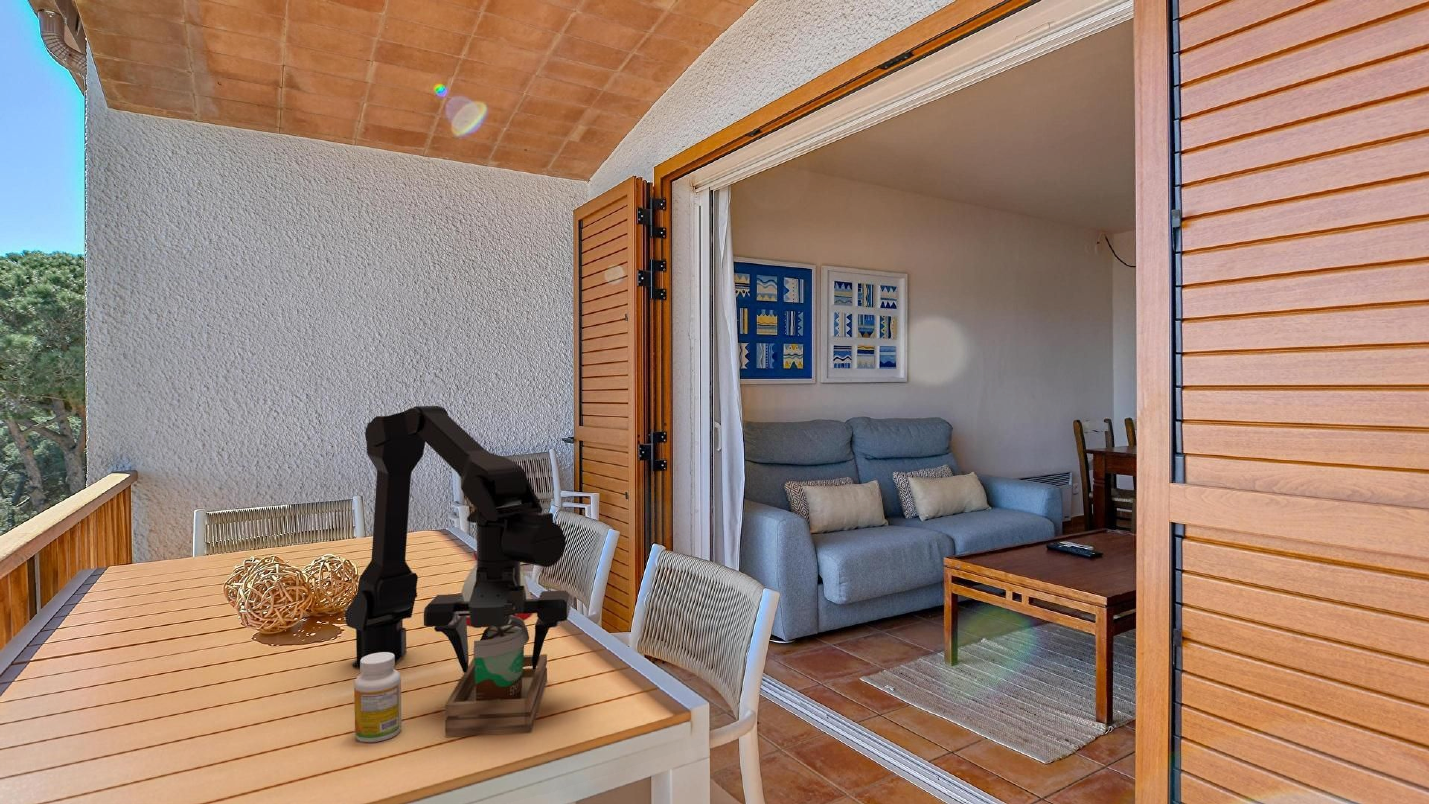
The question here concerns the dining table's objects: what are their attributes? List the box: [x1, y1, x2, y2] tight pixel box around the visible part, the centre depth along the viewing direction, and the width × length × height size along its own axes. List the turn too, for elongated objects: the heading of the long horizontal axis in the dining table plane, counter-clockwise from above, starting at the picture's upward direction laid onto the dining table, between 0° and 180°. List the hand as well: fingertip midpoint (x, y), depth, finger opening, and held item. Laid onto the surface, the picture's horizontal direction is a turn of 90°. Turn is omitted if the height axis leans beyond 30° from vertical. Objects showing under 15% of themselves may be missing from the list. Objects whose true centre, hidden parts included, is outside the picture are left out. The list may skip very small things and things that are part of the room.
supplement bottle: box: [353, 652, 403, 743], centre depth 94 cm, size 5×5×10 cm
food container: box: [472, 616, 530, 701], centre depth 102 cm, size 12×6×10 cm, turn 6°
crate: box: [444, 653, 548, 738], centre depth 102 cm, size 11×17×4 cm, turn 6°
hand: (500, 670), depth 102 cm, fingers open, 9 cm apart
